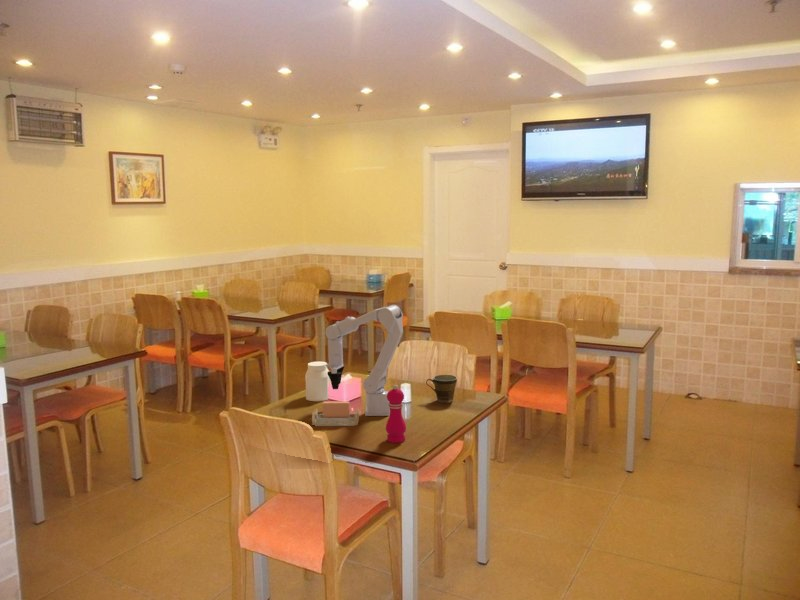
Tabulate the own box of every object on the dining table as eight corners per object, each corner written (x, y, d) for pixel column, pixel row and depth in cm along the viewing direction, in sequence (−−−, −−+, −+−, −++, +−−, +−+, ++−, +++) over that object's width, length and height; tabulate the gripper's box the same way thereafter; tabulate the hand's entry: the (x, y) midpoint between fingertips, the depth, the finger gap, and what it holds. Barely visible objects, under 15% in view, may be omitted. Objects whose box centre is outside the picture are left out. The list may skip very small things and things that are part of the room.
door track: (359, 418, 253) (358, 407, 252) (357, 425, 245) (357, 414, 244) (315, 419, 253) (315, 408, 252) (312, 426, 245) (311, 414, 244)
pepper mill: (406, 436, 233) (405, 382, 230) (406, 443, 226) (405, 387, 223) (386, 436, 233) (385, 382, 230) (385, 443, 226) (384, 387, 223)
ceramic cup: (457, 397, 279) (457, 374, 277) (456, 404, 269) (456, 381, 268) (427, 397, 280) (426, 374, 279) (425, 404, 270) (425, 380, 269)
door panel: (350, 418, 250) (349, 401, 249) (349, 420, 247) (349, 403, 246) (324, 419, 250) (323, 401, 249) (323, 421, 248) (322, 403, 247)
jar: (327, 401, 276) (326, 367, 274) (304, 401, 276) (303, 366, 274) (331, 393, 287) (330, 360, 285) (310, 393, 288) (309, 360, 286)
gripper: (328, 349, 270) (329, 381, 272) (323, 357, 255) (324, 391, 257) (345, 349, 269) (345, 381, 271) (341, 357, 255) (342, 391, 257)
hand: (336, 386), depth 264 cm, fingers open, 7 cm apart
